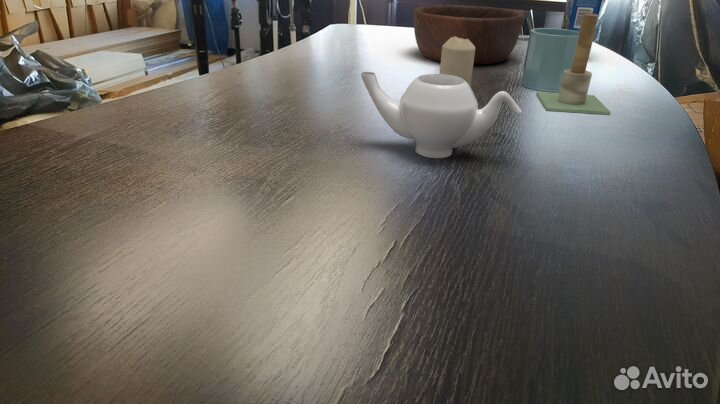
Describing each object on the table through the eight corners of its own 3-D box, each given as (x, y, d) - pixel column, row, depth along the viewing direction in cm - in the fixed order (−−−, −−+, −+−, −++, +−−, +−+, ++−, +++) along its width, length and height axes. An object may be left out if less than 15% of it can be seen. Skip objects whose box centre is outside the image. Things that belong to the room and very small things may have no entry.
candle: (475, 97, 88) (483, 38, 83) (455, 102, 84) (462, 41, 80) (451, 90, 91) (457, 33, 87) (431, 95, 88) (436, 36, 83)
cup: (565, 81, 100) (576, 29, 95) (576, 93, 92) (589, 37, 87) (518, 78, 101) (527, 27, 96) (525, 90, 93) (535, 34, 88)
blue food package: (581, 52, 128) (605, -58, 117) (588, 61, 118) (616, -58, 106) (555, 50, 130) (577, -58, 118) (560, 59, 119) (585, -59, 108)
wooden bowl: (508, 49, 129) (514, 6, 124) (526, 71, 107) (535, 20, 102) (411, 45, 131) (414, 3, 126) (409, 65, 109) (413, 16, 104)
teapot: (512, 176, 58) (527, 98, 54) (349, 154, 63) (350, 80, 58) (514, 147, 66) (526, 78, 62) (369, 130, 71) (371, 64, 67)
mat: (593, 98, 89) (594, 95, 89) (610, 114, 81) (610, 111, 80) (536, 94, 90) (536, 91, 90) (546, 110, 82) (546, 107, 81)
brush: (581, 98, 87) (601, 13, 80) (588, 105, 83) (609, 17, 77) (555, 96, 87) (573, 12, 81) (560, 104, 84) (579, 15, 77)
